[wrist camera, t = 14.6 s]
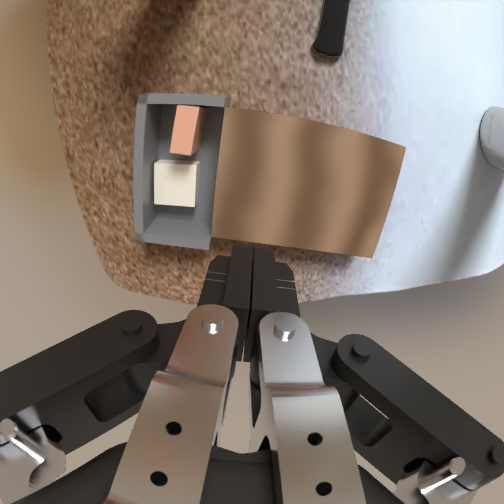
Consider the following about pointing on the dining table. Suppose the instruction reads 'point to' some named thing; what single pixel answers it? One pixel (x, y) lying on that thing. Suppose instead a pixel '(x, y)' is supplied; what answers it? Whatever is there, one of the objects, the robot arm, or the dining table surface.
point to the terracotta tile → (188, 129)
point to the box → (158, 147)
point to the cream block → (176, 182)
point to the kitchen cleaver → (332, 28)
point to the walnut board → (302, 183)
